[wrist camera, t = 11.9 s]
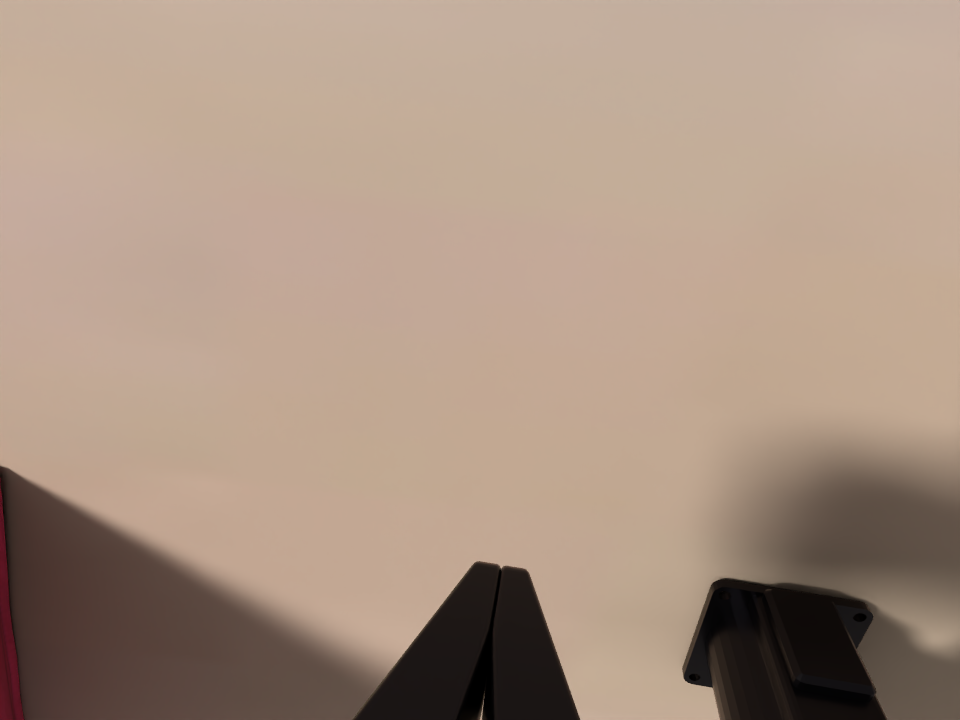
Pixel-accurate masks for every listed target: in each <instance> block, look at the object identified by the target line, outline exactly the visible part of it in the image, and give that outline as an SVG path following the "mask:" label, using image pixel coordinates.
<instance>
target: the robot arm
mask: <svg viewBox="0 0 960 720" xmlns="http://www.w3.org/2000/svg"><path fill="white" fill-rule="evenodd" d="M722 591H726V592H722ZM872 620H873V614H872V612H871V611H870V609H869V607H868V605H867V604H865V603H863V602H860V601H854V600H847V599H841V598H835V597H829V596H823V595H816V594H810V593H804V592H798V591H791V590H785V589H779V588H773V587H766V586H760V585H754V584H748V583H742V582H735V581H729V580H718V581H715V582H714V583H713V584H712V585H711V587H710V590H709V593H708V595H707V598H706V601H705V604H704V607H703V610H702V613H701V616H700V619H699V621H698V624H697V627H696V630H695V633H694V636H693V639H692V642H691V644H690V647H689V650H688V653H687V656H686V659H685V662H684V665H683V668H682V671H683V677H684V679H685V681H687V682H688V683H691V684H695V685H701V686H706V687H712V688H713V690H714V695H715V699H716V704H717V708H718V713H719V717H720V720H887V718H886V716H885V714H884V712H883V710H882V708H881V706H880V704H879V702H878V699H877V697H876V695H875V694H876V688H875V686H874V684H873V682H872V680H871V678H870V676H869V674H868V672H867V670H866V668H865V666H864V663H863V661H862V659H861V657H860V655H859V653H858V651H857V647H858V645H859V644H860V642H861V640H862V638H863V636H864V634H865V633H866V631H867V629H868V627H869V625H870V623H871V622H872ZM484 694H485V695H484ZM483 700H484V705H483ZM482 706H483V714H482V720H580V718H579V715H578V712H577V709H576V706H575V703H574V701H573V698H572V695H571V692H570V689H569V686H568V683H567V680H566V678H565V675H564V672H563V669H562V666H561V663H560V660H559V658H558V655H557V652H556V649H555V646H554V643H553V640H552V637H551V635H550V632H549V629H548V626H547V623H546V620H545V617H544V614H543V612H542V609H541V606H540V603H539V600H538V597H537V594H536V592H535V589H534V586H533V583H532V580H531V577H530V574H529V572H528V571H527V570H526V569H523V568H517V567H511V566H504V567H502V569H501V568H500V566H499V565H498V564H493V563H487V562H480V561H477V562H475V563H474V564H473V565H472V566H471V568H470V569H469V570H468V571H467V573H466V574H465V575H464V577H463V578H462V579H461V580H460V582H459V583H458V584H457V586H456V587H455V588H454V590H453V591H452V592H451V593H450V595H449V596H448V597H447V599H446V600H445V601H444V602H443V604H442V605H441V606H440V608H439V609H438V610H437V611H436V613H435V614H434V615H433V617H432V618H431V619H430V620H429V622H428V623H427V624H426V626H425V627H424V628H423V630H422V631H421V632H420V633H419V635H418V636H417V637H416V639H415V640H414V641H413V642H412V644H411V645H410V646H409V648H408V649H407V650H406V651H405V653H404V654H403V655H402V657H401V658H400V659H399V660H398V662H397V663H396V664H395V666H394V667H393V668H392V670H391V671H390V672H389V673H388V675H387V676H386V677H385V679H384V680H383V681H382V682H381V684H380V685H379V686H378V688H377V689H376V690H375V691H374V693H373V694H372V695H371V697H370V698H369V699H368V700H367V702H366V703H365V704H364V706H363V707H362V708H361V710H360V711H359V712H358V713H357V715H356V716H355V717H354V719H353V720H480V717H481V712H482Z"/></svg>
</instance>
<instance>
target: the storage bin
mask: <svg viewBox="0 0 960 720" xmlns="http://www.w3.org/2000/svg"><path fill="white" fill-rule="evenodd" d="M0 482H1V478H0ZM0 720H24V717H23V712H22V705H21V698H20V686H19V675H18V664H17V654H16V649H15V642H14V636H13V631H12V622H11V615H10V605H9V588H8V570H7V557H6V542H5V530H4V516H3V505H2V493H1V486H0Z"/></svg>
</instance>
